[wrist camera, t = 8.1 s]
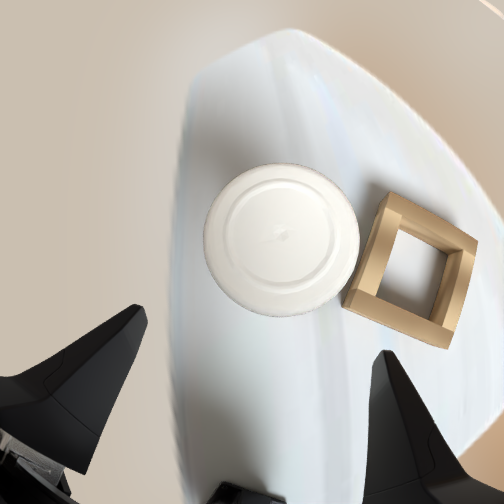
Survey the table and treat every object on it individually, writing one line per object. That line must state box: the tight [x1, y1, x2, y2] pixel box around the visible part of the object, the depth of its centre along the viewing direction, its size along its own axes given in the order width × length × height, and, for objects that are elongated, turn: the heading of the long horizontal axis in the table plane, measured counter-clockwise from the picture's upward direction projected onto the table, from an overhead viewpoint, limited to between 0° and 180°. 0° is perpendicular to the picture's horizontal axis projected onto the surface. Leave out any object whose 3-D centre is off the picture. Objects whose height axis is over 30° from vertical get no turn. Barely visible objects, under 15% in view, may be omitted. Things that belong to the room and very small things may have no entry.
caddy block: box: [342, 191, 478, 350], centre depth 18 cm, size 9×9×2 cm
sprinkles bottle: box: [203, 163, 360, 317], centre depth 14 cm, size 5×5×13 cm
